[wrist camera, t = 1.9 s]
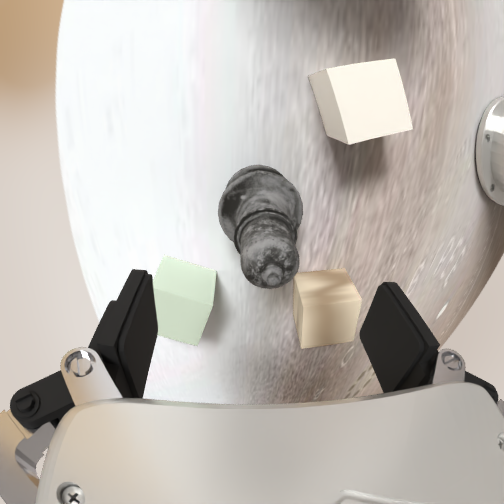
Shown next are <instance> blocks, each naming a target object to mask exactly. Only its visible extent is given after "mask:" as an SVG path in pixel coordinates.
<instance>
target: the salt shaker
mask: <svg viewBox="0 0 504 504" xmlns="http://www.w3.org/2000/svg"><path fill="white" fill-rule="evenodd" d="M302 215H303V205H302V201H301V198H300V195H299V193H298V191H297V190H296V188H295V187H294V186H293V184H292V183H290V182H289V181H288V180H287V179H286V178H284V177H283V175H282V174H280V173H279V172H278V171H277V170H275V169H273V168H271V167H268V166H263V165H253V166H248V167H246V168H243V169H241V170H240V171H238V172H237V173H235V174H234V175H233V177H232V178H231V179H230V180H229V182H228V185H227V187H226V190H225V191H224V192H223V195H222V197H221V199H220V202H219V209H218V216H219V222H220V225H221V227H222V229H223V231H224V233H225V234H226V235H227V236H228V237H229V239H230V240H231V241H233V242H234V244H235V247H236V249H237V251H238V252H239V254H240V255H241V268H242V271H243V273H244V275H245V277H246V279H247V280H248V281H249V282H250V283H252V284H253V285H255V286H258V287H261V288H268V289H271V288H277V287H280V286H283V285H285V284H286V283H288V282H289V281H290V280H292V279H293V278H294V276H295V275H296V273H297V271H298V268H299V254H298V251H297V249H296V246H295V244H296V240H297V229H298V227H299V225H300V224H301V219H302Z"/></svg>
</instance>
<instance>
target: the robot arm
mask: <svg viewBox="0 0 504 504" xmlns="http://www.w3.org/2000/svg"><path fill="white" fill-rule="evenodd" d="M476 164H477V172H478V176H479V180H480V183H481V185H482V188H483V190H484V192H485V193H486V195H487V196H488V197H489V198H490V199H491V200H492V201H494V202H496V203H497V204H499V205H502V206H504V97H499V98H496V99H495V100H494V101H492V102H491V103H490V104H489V106H488V107H487V108H486V110H485V112H484V114H483V116H482V119H481V122H480V125H479V129H478V134H477V142H476ZM157 335H158V321H157V314H156V306H155V298H154V289H153V279H152V275H151V274H148V273H147V271H146V270H135V269H133V270H132V271H131V273H130V275H129V277H128V279H127V281H126V283H125V285H124V287H123V289H122V291H121V293H120V295H119V297H118V299H117V301H113V300H112V301H110V303H109V304H108V306H107V308H106V310H105V312H104V314H103V317H102V319H101V321H100V323H99V325H98V327H97V329H96V331H95V334H94V336H93V338H92V340H91V342H90V345H89V347H88V348H86V347H79V348H75V349H72V350H70V351H69V352H67V354H65V356H64V357H63V359H62V360H61V365H60V366H61V370H60V371H58V372H56V373H54V374H52V375H50V376H48V377H46V378H44V379H41V380H39V381H37V382H35V383H33V384H31V385H28V386H26V387H24V388H22V389H20V390H18V391H17V392H16V393H15V394H14V395H13V397H12V399H11V402H10V410H8V411H7V412H6V411H5V410H3V411H2V412H1V413H0V496H1V497H2V499H3V500H4V501H5V503H6V504H504V401H502V400H501V399H500V400H499V401H498V394H497V391H496V389H495V387H494V386H493V385H491V384H490V383H488V382H486V381H484V380H482V379H480V378H478V377H476V376H474V375H472V374H470V373H468V372H466V371H465V362H464V360H463V358H462V357H461V355H459V354H458V353H457V352H456V351H454V350H451V349H442V350H441V351H440V352H438V350H437V349H438V347H439V346H440V344H439V343H438V341H437V340H436V338H435V337H434V335H433V334H432V332H431V331H430V329H429V328H428V326H427V325H426V323H425V322H424V320H423V319H422V317H421V316H420V315H419V313H418V312H417V310H416V309H415V307H414V306H413V305H412V303H411V302H410V301H409V299H408V298H407V296H406V295H405V294H404V292H403V291H402V290H401V288H400V287H399V286H398V284H397V283H395V282H383V283H382V284H381V285H380V286H379V287H378V289H377V291H376V294H375V296H374V299H373V301H372V304H371V306H370V309H369V311H368V314H367V316H366V318H365V321H364V323H363V325H362V328H361V330H360V339H361V342H362V344H363V346H364V348H365V350H366V353H367V355H368V357H369V359H370V362H371V364H372V366H373V369H374V371H375V373H376V376H377V378H378V380H379V383H380V385H381V387H382V390H383V392H384V393H383V394H377V395H370V396H363V397H356V398H348V399H339V400H330V401H319V402H306V403H288V404H212V403H193V402H179V401H167V400H155V399H142V398H143V394H144V389H145V384H146V380H147V376H148V371H149V367H150V363H151V359H152V354H153V350H154V346H155V342H156V338H157ZM47 448H48V451H47V454H46V457H45V461H44V465H43V468H42V473H41V477H40V479H39V478H38V476H37V474H36V464H37V462H38V461H39V459H40V458H41V457H42V456H43V455H44V454H43V451H45V450H46V449H47Z"/></svg>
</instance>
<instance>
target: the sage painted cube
mask: <svg viewBox="0 0 504 504" xmlns="http://www.w3.org/2000/svg"><path fill="white" fill-rule="evenodd" d="M216 273H217V271H215V270H212V269H209V268H205V267H202V266H199V265H196V264H192V263H189V262H186V261H183V260H179V259H176V258H173V257H170V256H166V255H164V256H163V258H162V261H161V263H160V265H159V268H158V270H157V273H156V275H155V277H154V280H153V289H154V298H155V306H156V314H157V321H158V335H159V336H162V337H166V338H169V339H173V340H176V341H180V342H184V343H187V344H191V345H195V346H198V343H199V341H200V338H201V336H202V333H203V330H204V328H205V325H206V323H207V320H208V317H209V315H210V312H211V310H212V307H213V301H214V292H215V282H216Z"/></svg>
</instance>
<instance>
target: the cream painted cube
mask: <svg viewBox="0 0 504 504" xmlns="http://www.w3.org/2000/svg"><path fill="white" fill-rule="evenodd" d="M308 78H309V81H310V84H311V86H312V89H313V92H314V95H315V99H316V102H317V105H318V108H319V111H320V114H321V118H322V121H323V124H324V128H325V131H326V135H327V136H329V137H331V138H334V139H336V140H339V141H341V142H343V143H346V144H348V145H350V144H354V143H358V142H361V141H365V140H369V139H373V138H377V137H382V136H386V135H390V134H394V133H399V132H403V131H408V130H413V128H412V122H411V117H410V113H409V108H408V104H407V100H406V95H405V91H404V87H403V84H402V80H401V76H400V73H399V69H398V66H397V63H396V59H386V60H377V61H370V62H363V63H356V64H350V65H344V66H339V67H333V68H328V69H325V70H322V71H319V72H317V73H314V74H311V75H309V76H308Z"/></svg>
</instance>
